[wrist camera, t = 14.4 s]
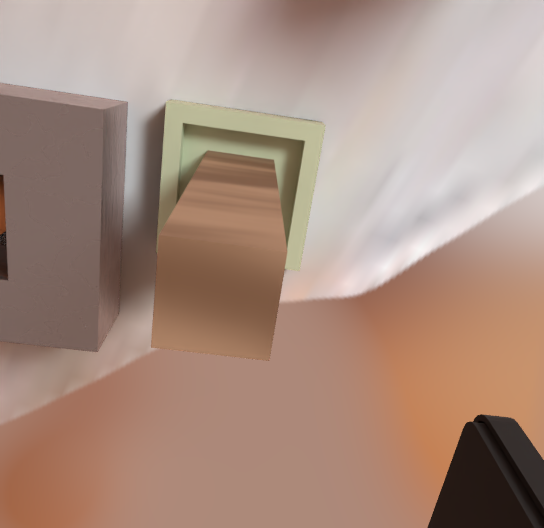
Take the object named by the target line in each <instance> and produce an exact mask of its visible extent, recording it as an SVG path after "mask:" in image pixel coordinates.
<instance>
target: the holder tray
mask: <svg viewBox="0 0 544 528" xmlns="http://www.w3.org/2000/svg"><path fill="white" fill-rule="evenodd" d="M324 131H325V125H324V124H323V123H322V122H319V121H312V120H305V119H298V118H292V117H285V116H278V115H272V114H265V113H258V112H252V111H245V110H238V109H232V108H225V107H218V106H211V105H205V104H198V103H191V102H185V101H178V100H169V101H167V102H166V108H165V123H164V138H163V153H162V168H161V183H160V197H159V212H158V227H157V242H156V253H158V239H159V234H160V232H161V230H162V229H163V227H164V225H165V223H166V222H167V220H168V218H169V216H170V215H171V213H172V211H173V210H174V208H175V206H176V204H177V203H178V201H179V199H180V197H181V196H182V194H183V192H184V191H185V189H186V187H187V185H188V184H189V182H190V180H191V178H192V177H193V175H194V173H195V171H196V170H197V168H198V166H199V165H200V163H201V161H202V159H203V158H204V156H205V154H206V152H207V151H208V150H210V151H217V152H224V153H231V154H238V155H245V156H252V157H259V158H266V159H273V160H274V163H275V169H276V176H277V183H278V190H279V197H280V204H281V210H282V217H283V224H284V231H285V238H286V245H287V251H288V252H287V258H286V264H285V269H287V270H295V271H300V265H301V260H302V254H303V248H304V243H305V237H306V232H307V226H308V220H309V215H310V209H311V204H312V198H313V193H314V187H315V181H316V176H317V170H318V165H319V159H320V153H321V148H322V142H323V137H324Z"/></svg>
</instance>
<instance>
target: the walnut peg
mask: <svg viewBox="0 0 544 528" xmlns="http://www.w3.org/2000/svg"><path fill="white" fill-rule="evenodd" d="M287 252H288V251H287V245H286V238H285V231H284V224H283V217H282V210H281V204H280V197H279V190H278V183H277V176H276V169H275V163H274V160H273V159H266V158H259V157H252V156H245V155H238V154H231V153H224V152H217V151H210V150H208V151H207V152H206V154H205V156H204V158H203V159H202V161H201V163H200V165H199V166H198V168H197V170H196V171H195V173H194V175H193V177H192V178H191V180H190V182H189V184H188V185H187V187H186V189H185V191H184V192H183V194H182V196H181V197H180V199H179V201H178V203H177V204H176V206H175V208H174V210H173V211H172V213H171V215H170V216H169V218H168V220H167V222H166V223H165V225H164V227H163V229H162V230H161V232H160V234H159V239H158V254H157V268H156V283H155V297H154V312H153V326H152V341H151V347H152V348H160V349H169V350H178V351H187V352H195V353H205V354H214V355H222V356H231V357H240V358H248V359H257V360H266V361H269V359H270V353H271V347H272V341H273V335H274V329H275V323H276V318H277V312H278V306H279V300H280V294H281V288H282V282H283V276H284V270H285V264H286V258H287Z"/></svg>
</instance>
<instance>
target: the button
mask: <svg viewBox="0 0 544 528" xmlns="http://www.w3.org/2000/svg"><path fill="white" fill-rule="evenodd" d="M4 232H6V219H5V197H4V175H1V174H0V235H1V234H3V233H4Z"/></svg>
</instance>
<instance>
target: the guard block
mask: <svg viewBox="0 0 544 528" xmlns="http://www.w3.org/2000/svg"><path fill="white" fill-rule="evenodd" d="M127 107H128V102H125V101H118V100H111V99H105V98H98V97H91V96H84V95H78V94H71V93H64V92H57V91H51V90H44V89H37V88H30V87H24V86H17V85H10V84H3V83H0V174H1V175H4V197H5V219H6V240H7V245H1V244H0V341H3V342H12V343H21V344H30V345H39V346H48V347H57V348H66V349H74V350H83V351H92V352H98V350H99V349H100V347H101V345H102V343H103V341H104V340H105V338H106V336H107V334H108V332H109V331H110V329H111V327H112V325H113V323H114V322H115V320H116V318H117V316H118V314H119V301H120V277H121V253H122V228H123V204H124V180H125V156H126V131H127Z"/></svg>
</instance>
